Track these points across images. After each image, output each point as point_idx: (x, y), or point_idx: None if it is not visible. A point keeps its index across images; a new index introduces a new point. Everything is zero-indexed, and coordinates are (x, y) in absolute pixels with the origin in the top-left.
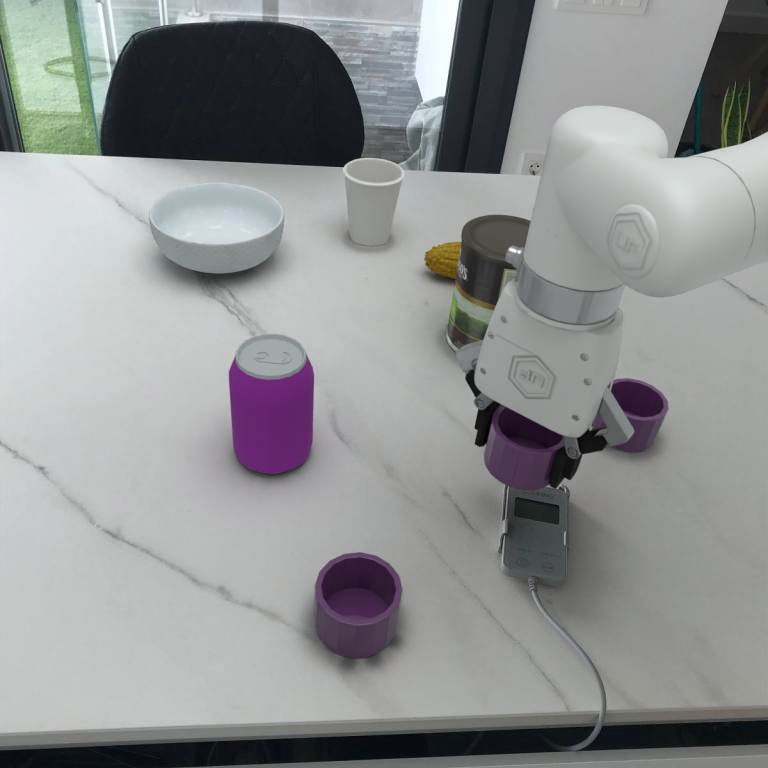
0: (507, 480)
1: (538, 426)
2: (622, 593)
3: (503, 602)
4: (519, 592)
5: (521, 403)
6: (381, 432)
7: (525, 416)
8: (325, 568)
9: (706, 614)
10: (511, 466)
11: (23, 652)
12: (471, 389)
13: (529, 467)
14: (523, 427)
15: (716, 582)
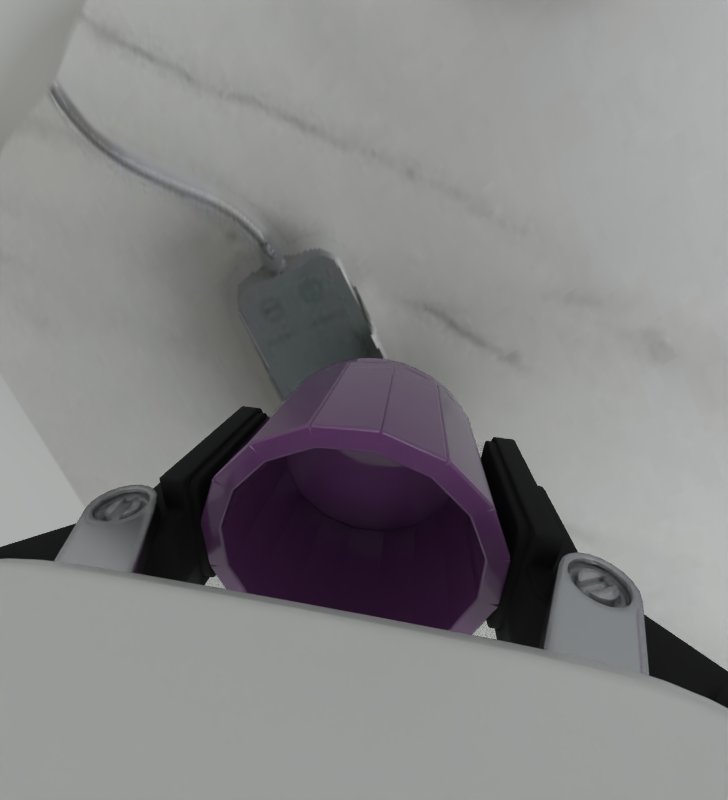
0: (363, 362)
1: (365, 570)
2: (158, 333)
3: (292, 172)
4: (281, 218)
5: (287, 754)
6: (712, 434)
7: (266, 607)
8: None
9: (63, 370)
10: (351, 383)
11: None
12: (690, 648)
13: (290, 403)
14: (405, 552)
15: (87, 429)
